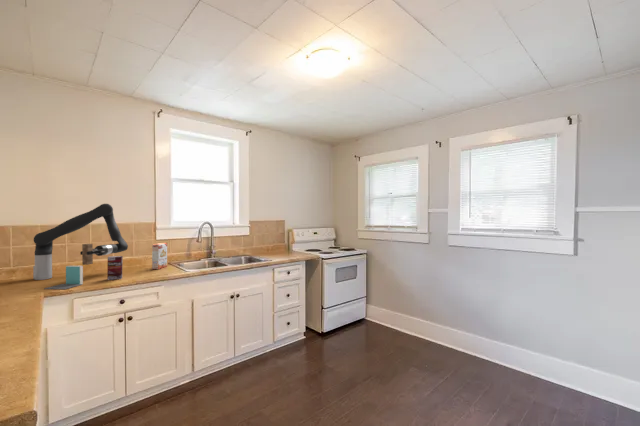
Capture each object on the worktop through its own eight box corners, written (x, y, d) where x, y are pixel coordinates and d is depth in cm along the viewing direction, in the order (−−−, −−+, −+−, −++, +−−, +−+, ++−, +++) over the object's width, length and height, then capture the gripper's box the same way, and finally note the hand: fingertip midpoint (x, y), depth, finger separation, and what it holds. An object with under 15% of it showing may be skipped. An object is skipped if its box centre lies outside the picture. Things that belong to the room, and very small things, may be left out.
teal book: (65, 284, 198) (65, 266, 198) (68, 283, 201) (68, 265, 201) (79, 284, 198) (79, 266, 198) (82, 283, 200) (82, 265, 200)
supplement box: (107, 280, 211) (107, 257, 211) (108, 278, 215) (108, 256, 215) (121, 278, 215) (121, 256, 215) (122, 277, 219) (122, 255, 219)
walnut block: (82, 264, 208) (82, 244, 208) (87, 263, 212) (87, 243, 212) (87, 264, 207) (87, 244, 207) (92, 263, 211) (92, 243, 211)
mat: (44, 289, 186) (44, 288, 186) (62, 284, 198) (62, 283, 198) (65, 289, 185) (65, 288, 185) (82, 284, 197) (82, 284, 197)
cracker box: (158, 269, 250) (158, 244, 250) (151, 269, 250) (151, 244, 250) (167, 266, 264) (167, 242, 264) (160, 266, 264) (160, 242, 264)
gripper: (94, 244, 224) (74, 247, 207) (112, 245, 223) (93, 247, 206) (94, 255, 224) (74, 258, 207) (112, 255, 223) (93, 258, 206)
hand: (84, 253), depth 207 cm, fingers closed on walnut block, 4 cm apart
